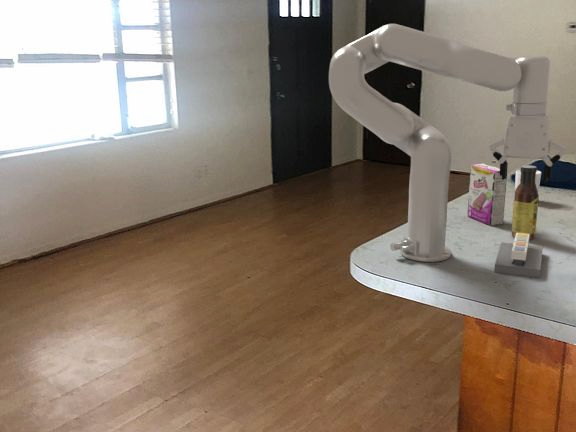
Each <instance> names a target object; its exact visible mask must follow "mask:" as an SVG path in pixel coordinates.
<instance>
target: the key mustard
mask: <svg viewBox="0 0 576 432" xmlns="http://www.w3.org/2000/svg"><path fill="white" fill-rule="evenodd" d="M529 235H530V234H526V233H516V235H515V237H521V238H529ZM529 243H530V241H529V242H528V244H529Z"/></svg>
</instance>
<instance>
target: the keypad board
mask: <svg viewBox="0 0 576 432" xmlns="http://www.w3.org/2000/svg"><path fill="white" fill-rule="evenodd" d="M513 244H514V242H513V243H510V242H502V241H501V242H500V247H499V249H498V253H497V256H496V259H495V262H494V269H493V270H494V273H497V274H499V273H500V274H505V275H506V274H507V275H514V276H522V277H530V278H540V277H541V269H542V259H543V248H544V247H543V246H542V245H541V246H537V245H532V244H531V245H530V244H528V249H527V255H526V260H523V265H514V264H513V263H514V259H511V254H512V248H513Z"/></svg>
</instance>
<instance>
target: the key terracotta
mask: <svg viewBox="0 0 576 432" xmlns="http://www.w3.org/2000/svg"><path fill="white" fill-rule="evenodd" d="M528 245H529V243H523V242H514V241H513V247H523V248H528ZM526 255H527V254H526Z"/></svg>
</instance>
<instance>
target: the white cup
mask: <svg viewBox="0 0 576 432" xmlns="http://www.w3.org/2000/svg"><path fill="white" fill-rule="evenodd" d="M520 170H521V168H520V169H517V170H515V178H514V181H515V182H514V186H515V187H514V191H515V190H516V188H517V187H518V185H519V184H520V183H521V182H520V179H521V171H520ZM541 176H542V171H540V170H537V172H536V176H535V184H536V187H537V191H538V192H539V189H540V183H541V178H542V177H541Z"/></svg>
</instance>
